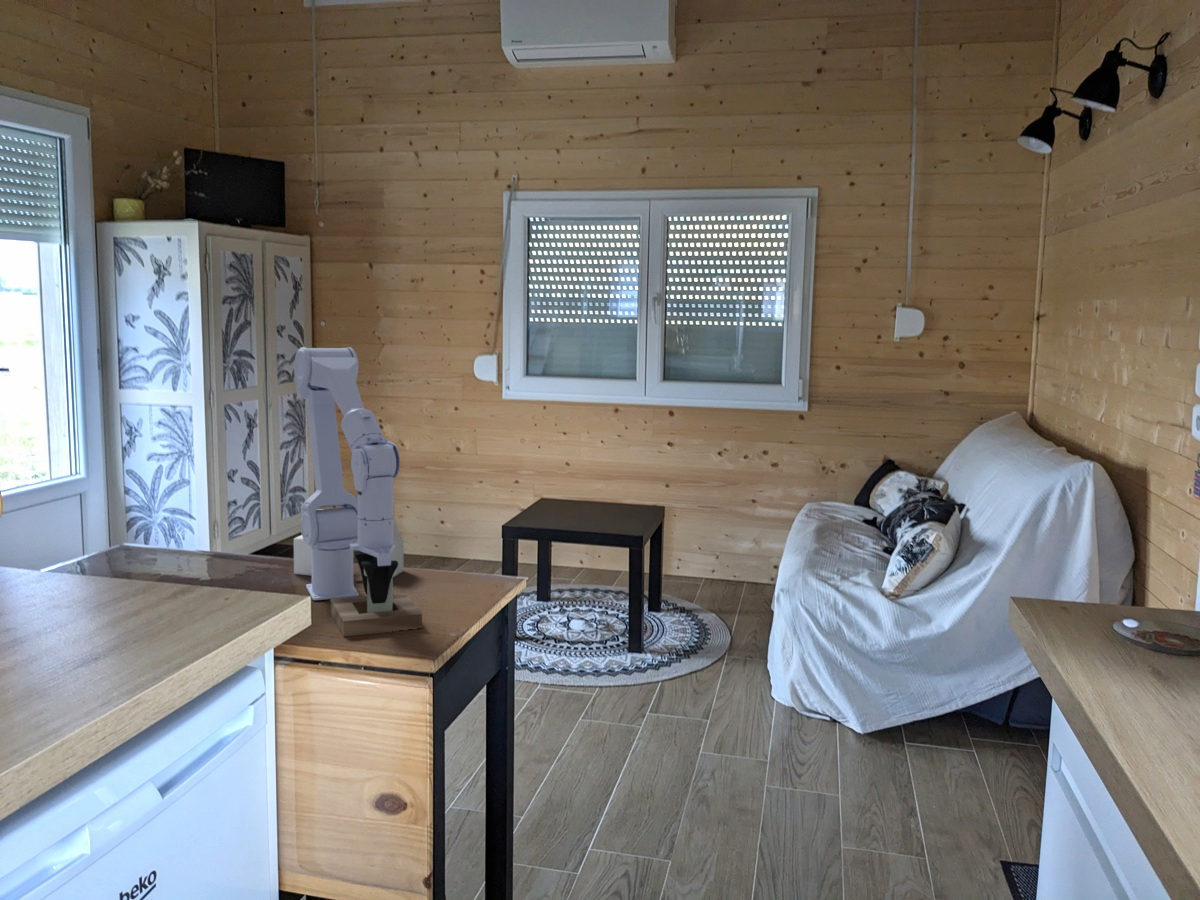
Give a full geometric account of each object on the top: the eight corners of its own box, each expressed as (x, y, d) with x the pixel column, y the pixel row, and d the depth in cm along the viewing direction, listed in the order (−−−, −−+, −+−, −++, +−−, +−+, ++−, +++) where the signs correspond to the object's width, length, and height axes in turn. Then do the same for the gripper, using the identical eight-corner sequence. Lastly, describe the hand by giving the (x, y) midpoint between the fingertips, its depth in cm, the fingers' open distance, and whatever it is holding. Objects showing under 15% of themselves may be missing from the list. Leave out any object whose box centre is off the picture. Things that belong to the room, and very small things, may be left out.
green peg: (364, 616, 166) (364, 561, 165) (396, 615, 168) (396, 560, 166) (363, 626, 161) (363, 569, 160) (395, 625, 162) (396, 568, 161)
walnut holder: (330, 613, 167) (330, 599, 167) (404, 606, 172) (404, 592, 172) (343, 636, 156) (343, 621, 156) (421, 628, 161) (422, 613, 161)
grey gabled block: (403, 571, 196) (403, 521, 194) (389, 579, 189) (389, 528, 188) (385, 569, 196) (385, 519, 195) (371, 578, 190) (371, 526, 188)
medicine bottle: (327, 577, 189) (327, 515, 187) (293, 574, 190) (292, 513, 189) (344, 568, 196) (344, 508, 194) (311, 565, 197) (310, 506, 196)
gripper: (342, 509, 167) (343, 588, 168) (358, 528, 153) (359, 612, 155) (384, 507, 169) (384, 584, 171) (404, 525, 156) (403, 608, 158)
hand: (375, 598), depth 164 cm, fingers closed on green peg, 5 cm apart
